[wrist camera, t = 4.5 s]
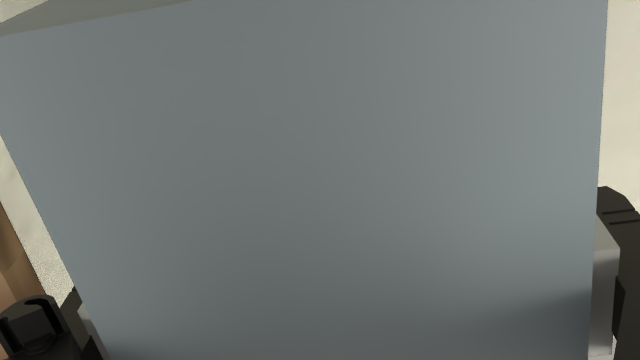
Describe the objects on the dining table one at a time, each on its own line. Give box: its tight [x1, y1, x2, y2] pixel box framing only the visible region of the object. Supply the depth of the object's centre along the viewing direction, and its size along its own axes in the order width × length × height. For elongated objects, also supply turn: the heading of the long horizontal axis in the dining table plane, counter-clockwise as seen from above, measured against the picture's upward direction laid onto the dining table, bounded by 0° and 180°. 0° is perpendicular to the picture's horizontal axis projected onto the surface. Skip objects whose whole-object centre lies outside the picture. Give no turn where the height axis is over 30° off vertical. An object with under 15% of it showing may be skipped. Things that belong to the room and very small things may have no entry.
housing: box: [0, 0, 608, 360], centre depth 15 cm, size 14×9×8 cm, turn 10°
